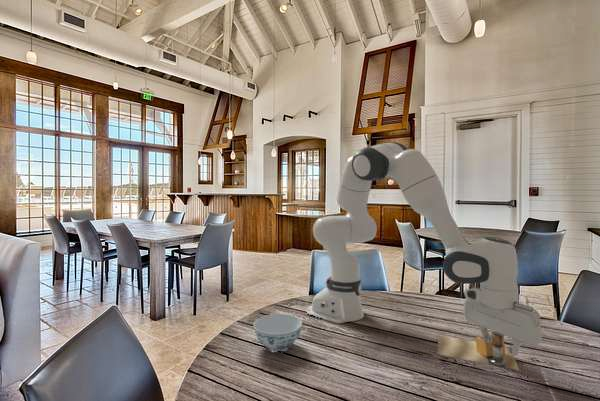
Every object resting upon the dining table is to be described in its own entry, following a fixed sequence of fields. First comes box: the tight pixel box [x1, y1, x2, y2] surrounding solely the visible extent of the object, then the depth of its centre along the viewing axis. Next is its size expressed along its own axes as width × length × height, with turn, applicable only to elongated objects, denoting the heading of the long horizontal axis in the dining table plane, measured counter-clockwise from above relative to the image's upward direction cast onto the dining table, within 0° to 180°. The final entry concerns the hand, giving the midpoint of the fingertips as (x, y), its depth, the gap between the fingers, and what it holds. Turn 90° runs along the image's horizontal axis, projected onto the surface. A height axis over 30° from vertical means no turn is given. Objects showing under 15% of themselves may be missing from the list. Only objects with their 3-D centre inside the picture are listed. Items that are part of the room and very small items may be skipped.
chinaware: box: [253, 313, 303, 351], centre depth 101 cm, size 15×15×8 cm
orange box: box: [475, 336, 506, 357], centre depth 94 cm, size 6×4×4 cm, turn 99°
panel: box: [436, 334, 520, 371], centre depth 95 cm, size 20×13×1 cm, turn 64°
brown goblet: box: [490, 331, 505, 367], centre depth 88 cm, size 4×4×8 cm
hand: (500, 347), depth 88 cm, fingers open, 6 cm apart
